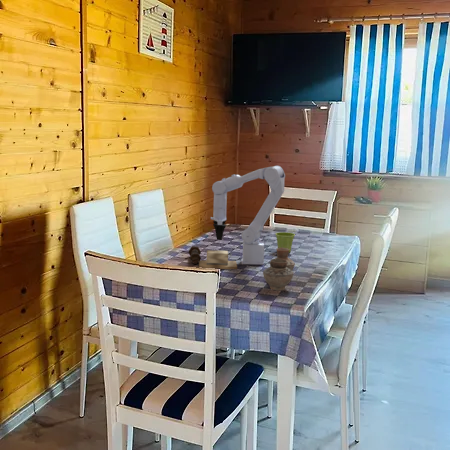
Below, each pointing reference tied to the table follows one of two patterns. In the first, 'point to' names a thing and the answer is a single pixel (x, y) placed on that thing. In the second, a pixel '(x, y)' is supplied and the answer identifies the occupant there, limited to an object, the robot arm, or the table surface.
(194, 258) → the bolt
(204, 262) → the board
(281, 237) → the plant pot
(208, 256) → the block
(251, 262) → the robot arm
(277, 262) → the pottery
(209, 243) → the table surface
